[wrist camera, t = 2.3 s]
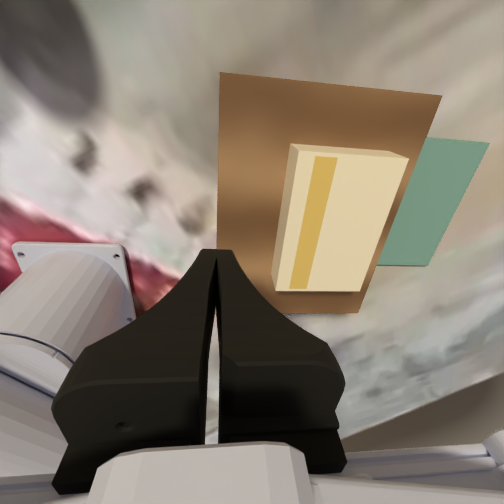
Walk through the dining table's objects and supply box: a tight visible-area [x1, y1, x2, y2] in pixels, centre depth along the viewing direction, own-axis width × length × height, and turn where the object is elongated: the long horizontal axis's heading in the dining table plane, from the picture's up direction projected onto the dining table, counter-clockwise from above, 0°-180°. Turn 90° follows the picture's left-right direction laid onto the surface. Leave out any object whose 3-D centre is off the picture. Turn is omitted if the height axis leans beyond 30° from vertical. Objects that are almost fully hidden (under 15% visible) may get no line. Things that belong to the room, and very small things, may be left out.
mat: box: [377, 138, 490, 266], centre depth 22 cm, size 11×8×1 cm
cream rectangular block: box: [271, 144, 409, 291], centre depth 17 cm, size 9×6×2 cm, turn 175°
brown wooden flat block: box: [215, 72, 442, 314], centre depth 20 cm, size 16×12×4 cm
